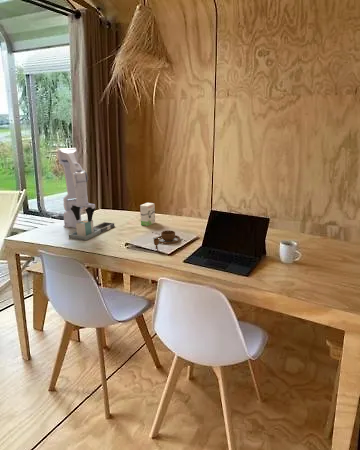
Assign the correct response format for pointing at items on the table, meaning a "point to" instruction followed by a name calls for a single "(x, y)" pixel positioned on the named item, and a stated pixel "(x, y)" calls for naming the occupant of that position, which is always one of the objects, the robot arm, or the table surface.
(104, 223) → the frame
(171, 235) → the place setting
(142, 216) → the ink box
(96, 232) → the tray
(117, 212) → the table surface
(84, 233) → the beige teal carton
